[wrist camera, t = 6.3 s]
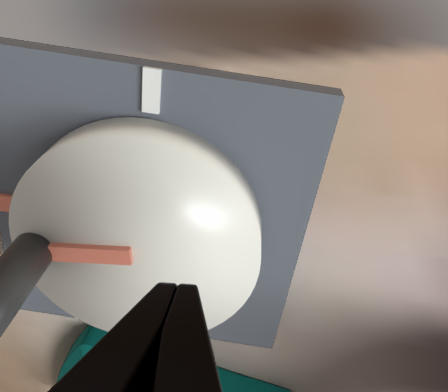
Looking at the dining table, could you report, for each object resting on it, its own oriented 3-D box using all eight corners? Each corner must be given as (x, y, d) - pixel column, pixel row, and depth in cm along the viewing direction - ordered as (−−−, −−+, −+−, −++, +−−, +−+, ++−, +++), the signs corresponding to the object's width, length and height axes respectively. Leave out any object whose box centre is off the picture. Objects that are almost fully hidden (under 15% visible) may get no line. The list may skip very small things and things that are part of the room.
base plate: (340, 89, 17) (345, 98, 16) (271, 334, 25) (271, 351, 24) (-35, 31, 17) (-54, 37, 16) (15, 294, 25) (5, 309, 24)
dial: (2, 113, 17) (-137, 202, 11) (267, 120, 16) (268, 220, 10) (58, 303, 23) (-14, 429, 17) (257, 315, 22) (254, 452, 16)
